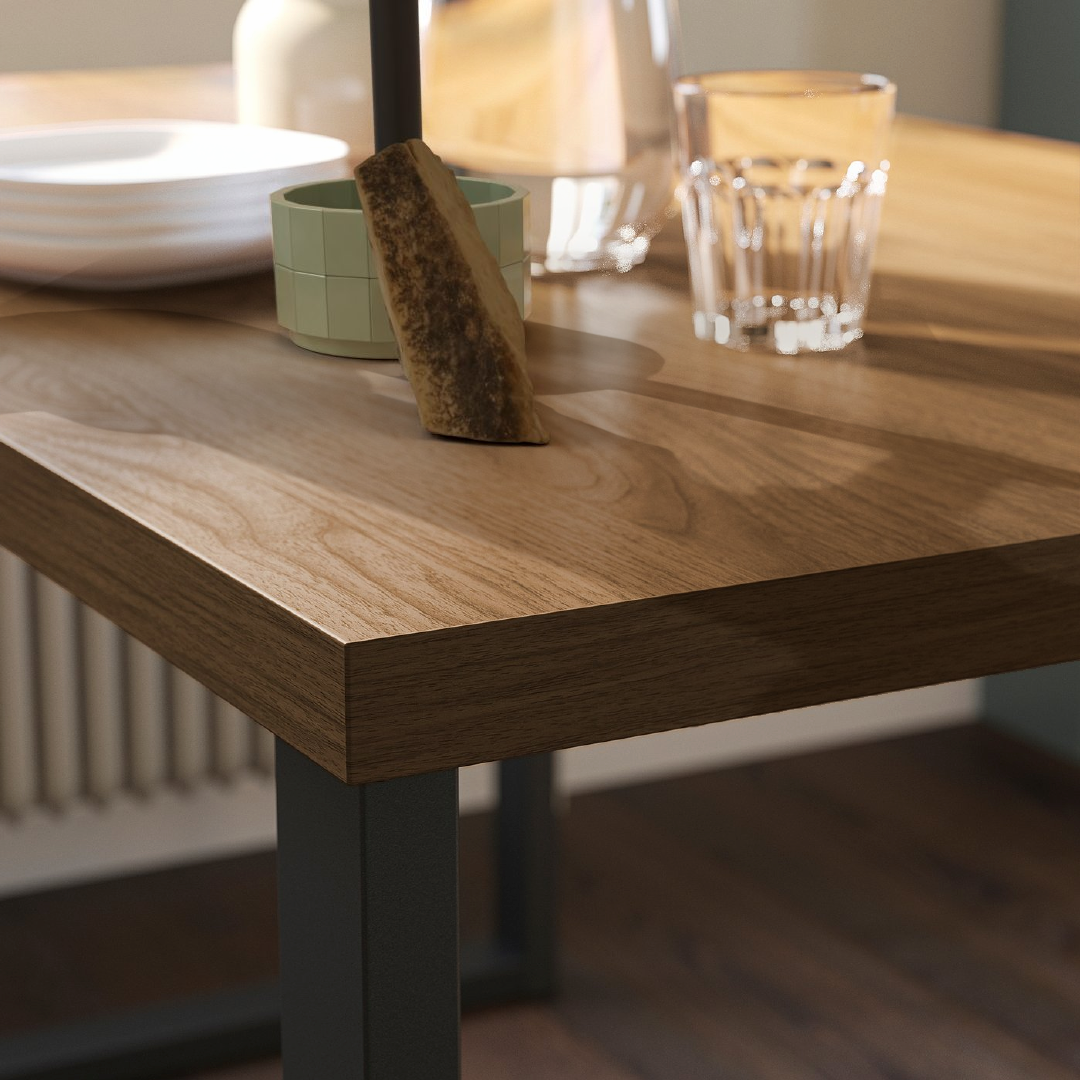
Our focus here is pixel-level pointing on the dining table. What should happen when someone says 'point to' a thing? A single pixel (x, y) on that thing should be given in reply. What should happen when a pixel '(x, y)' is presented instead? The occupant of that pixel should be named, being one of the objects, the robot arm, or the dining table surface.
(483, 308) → the rock
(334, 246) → the bowl
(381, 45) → the dark weighted post stand
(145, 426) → the dining table surface
